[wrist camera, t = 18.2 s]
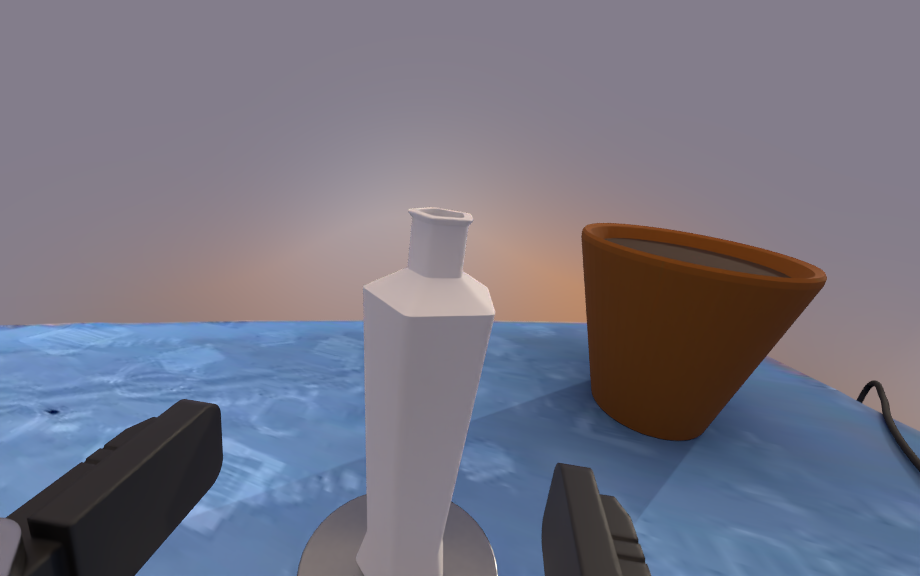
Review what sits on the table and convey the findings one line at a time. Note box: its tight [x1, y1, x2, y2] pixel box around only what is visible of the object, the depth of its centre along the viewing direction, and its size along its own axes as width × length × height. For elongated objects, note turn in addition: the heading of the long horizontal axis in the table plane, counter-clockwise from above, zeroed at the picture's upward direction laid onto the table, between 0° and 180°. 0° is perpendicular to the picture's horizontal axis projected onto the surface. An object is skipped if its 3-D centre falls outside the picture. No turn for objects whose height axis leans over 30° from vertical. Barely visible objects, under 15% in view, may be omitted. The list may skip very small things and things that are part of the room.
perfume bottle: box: [356, 207, 495, 576], centre depth 16 cm, size 5×4×15 cm
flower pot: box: [582, 223, 827, 441], centre depth 51 cm, size 24×24×20 cm
